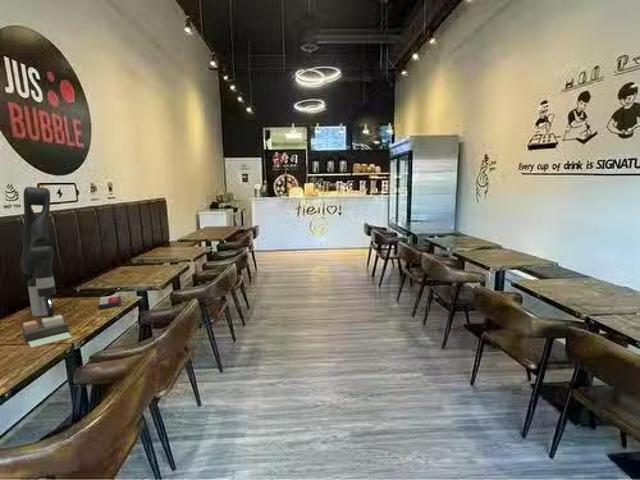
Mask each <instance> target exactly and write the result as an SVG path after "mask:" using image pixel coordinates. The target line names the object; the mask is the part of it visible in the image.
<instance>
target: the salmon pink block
mask: <svg viewBox="0 0 640 480" xmlns="http://www.w3.org/2000/svg"><path fill="white" fill-rule="evenodd" d="M22 324H23V328H24V330H25V332H28V331H32V330H37V329H38V324H39V323H38V322H37V321H36V320H30V321H26V322H22Z"/></svg>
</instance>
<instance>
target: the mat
mask: <svg viewBox="0 0 640 480" xmlns="http://www.w3.org/2000/svg"><path fill="white" fill-rule="evenodd" d="M68 339H69V340H70V339H73V337H72V335H71V334H70V332H66V333H62V334H58V335H54V336H50V337H46V338H42V339H38V340H34V341H30V342H28V343H27V344H28V345H29V348H30V349H34V348H38V347H41V346H46V345H49V344H53V342H54V343H56V342H57V341H58V342H60V341H64V340H68ZM33 347H34V348H33Z"/></svg>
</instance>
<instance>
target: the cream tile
mask: <svg viewBox="0 0 640 480" xmlns="http://www.w3.org/2000/svg"><path fill="white" fill-rule="evenodd" d="M63 320H64V317H63V316H62V315H61V314H58V315H53V316H52V317H48V316H47V317H44V318H41V324H43V326H44V327H50V326H54V325H58V324H62V323H64V321H65V320H64V321H63Z"/></svg>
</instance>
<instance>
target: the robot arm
mask: <svg viewBox="0 0 640 480" xmlns="http://www.w3.org/2000/svg"><path fill="white" fill-rule="evenodd" d="M33 206H38V207H39V206H41V207H42V209H41V212H40V213H39V215H37V214H36V213H35V211H34V210H33ZM50 209H51V192H50V190H49V188H46V187H34V186H33V187H32V186H27V187H25V188H24V190H23V213H24V214H23V216H24V217H23V227H22V254H21V260H20V269H21V271H22V273H23V274H24V275H32V274H35V276H34V277H32V278H30V279H28V280H27V289H28V295H29V303H30V307H31V314H32V317H34V318H35V317H37V318H38V317H43V316H47V318H48V317H52V316H54V310H55V309H54V304H55V303H54V298H53V297H52V296H54V295H56V294H57V292H56V291H57V290H56V283H55V279H54V273H53V259H54V252H55V251H54V248H53V247H52V246H50V245H43V244H46V243H48V242H49V239H50V237H49V219H50V211H51V210H50ZM40 245H42V246H40Z"/></svg>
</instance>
